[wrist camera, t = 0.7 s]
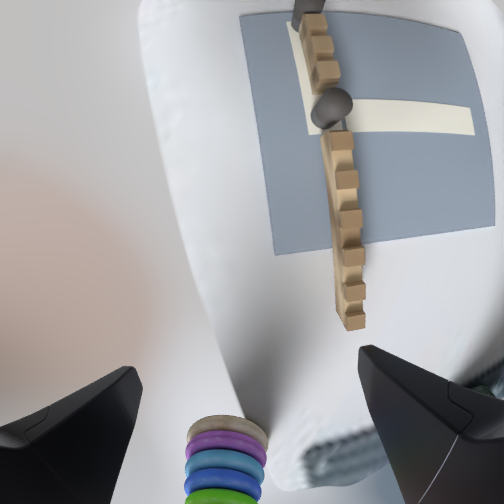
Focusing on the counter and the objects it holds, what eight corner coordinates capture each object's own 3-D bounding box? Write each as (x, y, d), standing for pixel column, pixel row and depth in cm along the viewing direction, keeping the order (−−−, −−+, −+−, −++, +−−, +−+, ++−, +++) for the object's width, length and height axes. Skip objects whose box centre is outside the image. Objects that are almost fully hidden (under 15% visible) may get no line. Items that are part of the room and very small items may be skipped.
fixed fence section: (312, 18, 16) (321, -12, 12) (337, 129, 18) (355, 116, 14) (288, 18, 16) (293, -12, 12) (311, 131, 18) (324, 118, 14)
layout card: (459, 34, 15) (461, 33, 14) (493, 225, 19) (495, 225, 18) (239, 18, 16) (239, 16, 16) (274, 254, 20) (275, 255, 20)
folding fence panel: (319, 137, 17) (330, 128, 14) (337, 136, 17) (351, 127, 14) (336, 310, 20) (347, 331, 17) (351, 307, 20) (365, 328, 17)
